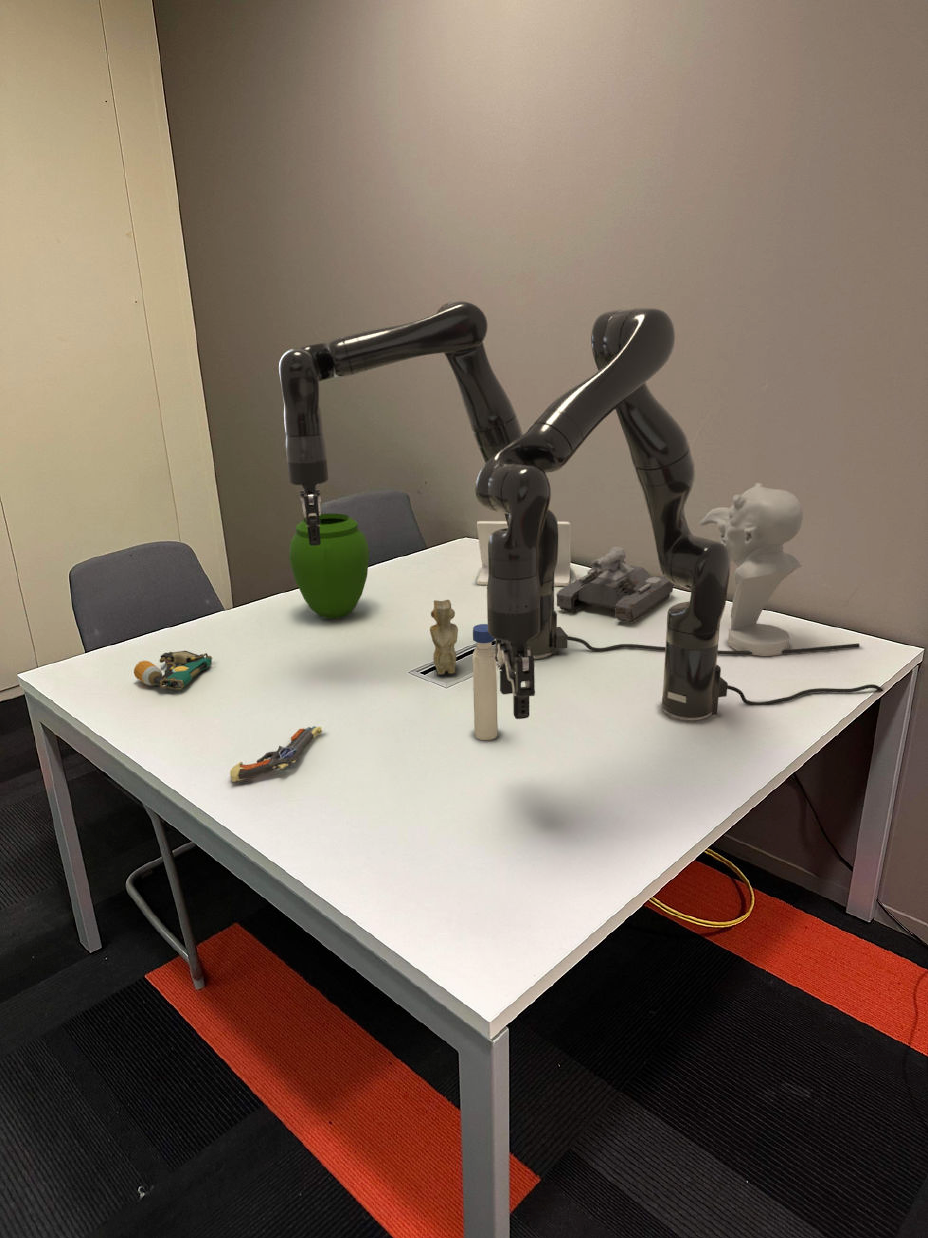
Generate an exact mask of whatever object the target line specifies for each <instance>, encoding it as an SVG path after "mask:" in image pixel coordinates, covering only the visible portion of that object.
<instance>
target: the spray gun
mask: <svg viewBox="0 0 928 1238" xmlns="http://www.w3.org/2000/svg"><path fill="white" fill-rule="evenodd" d="M212 660H213V657H212V656H211V655H208V653H207V652H205V653H201V654H197V653H194V652H192V651H191V652H190V651H188V650H180V651H169V652H164V653H162V654H161V655H160V658H159V660H158V662H159V663H161V664H163V663H165V664H166V668H165V670H163V672H164V674H163V673H162V669H160V668H159V666H157V665H156V664H154V663H152V662H151V661H149V660H141V661H139V662H138V663H136V665H135V666H134V668H133V675H134V677H135V678H136V679H137V680H139V681H140V682H142V683H143V684H145V685H147V686H155V685H157V686H158V687H160V688H161V689H171V690H172V689H173V690H182V689H184V687H185V686H186V685H188V684H189V683H190V682H191V681H192V679H193V678H195V677H196V676H197V675H198V674H200V673H201V672H202V671H203V670H206V669H208V668H209V667H210V666H211V665H212V662H213V661H212ZM178 663H179V664H181V665H179V666H176V665H177V664H178Z"/></svg>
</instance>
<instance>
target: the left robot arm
mask: <svg viewBox="0 0 928 1238" xmlns="http://www.w3.org/2000/svg"><path fill="white" fill-rule="evenodd" d="M487 332H488V320H487V316H486V315H485V313H484V311H483V310H482V308H480V307H479V306H477V305H476V304H474V303H472V302H470V301H466V300H453V301H449V302H446V303H444V304H443V305H442V306H441V307H439V309H438V310H437V312H436V313H434V314H432V315H429V316H426V317H424V318H421V319H419V320H414V321H412V322H408V323H407V322H406V323H404V324H399V325H393V326H387V327H381V328H380V327H379V328H375V329H369V330H365V331H361V332H360V331H359V332H355V333H352V334H349V335H348V334H347V335H344V336H340V337H338V338H334V339H332V340H329V341H325V342H320V343H315V344H309V345H304V346H299V347H295V348H291V349H289V350H287V351H286V352H284V353H283V355H282V356H281V357H280V360H279V365H278V371H279V378H280V384H281V393H282V399H283V400H282V401H283V405H284V408H283V417H284V418H283V420H284V429H285V431H284V432H285V452H286V462H287V472H288V482H289V483H290V484H291V485H293V486H301V487H302V490H299V497H300V504H301V505H302V514H303V517H304V518H306V520H307V521H306V525H307V527H308V535H309V544H310V545H311V546H313V545H320V544H321V539H320V528H319V526H320V523H321V522H320V519H319V516H320V515H321V514H322V507H321V506H322V505H321V502H322V495H321V489H317V487H316V486H317V485H322V484H324V483H327V482H328V480H329V470H328V457H327V448H326V441H325V436H324V426H323V416H322V415H323V414H322V411H321V406H320V382H322V381H326V380H329V379H333V378H345V377H350V376H355V375H358V374H361V373H366V372H369V371H372V370H376V369H380V368H383V367H387V366H390V365H393V364H396V363H400V362H403V361H407V360H411V359H415V358H420V357H424V356H430V355H436V354H444V356H445V358H446V360H447V362H448V365H449V367H450V368H451V370H452V372H453V376H454V377H455V380H456V383H457V385H458V388H459V393H460V396H461V399H462V403H463V406H464V409H465V412H466V415H467V418H468V422H469V425H470V428H471V431H472V433H473V436H474V439H475V441H476V444H477V447H478V449H479V451H480V453H481V456H482V458H483V460H484V464H486V462H487V461H488V460H489V459H490V458H491V457H493V456H494V455H495V454H496V453H498V452H499V451H500V450H502V449H503V448H505V447H506V446H507V445H509V444H510V443H512V442H513V441H514V440H516V439H518V438H519V437H521V436H522V435H524V434H523V430H522V428H521V425H520V422H519V419H518V417H517V414H516V411H515V409H514V406H513V404H512V402H511V400H510V398H509V396H508V393H506V391H505V389H504V387H503V385H502V384H501V382H500V381H499V379H498V377H497V376H496V374H495V372H494V370H493V369H492V365H491V363H490V361H489V357H488V355H487V351H486V348H485V345H484V340H485V338H486V337H487ZM504 517H505V521H506V522H507V526H509V523H510V518H511V516H510V514H506V513H504ZM558 522H559V521H558V518H557V517H556V515H555V513H554V512H553V511H552V510H551V509H549V508H548V511H547V515H546V518H545V522H544V526H543V530H542V533H541V537H540V540H539V544H538V577H539V584H540V631H539V634H538V635H537V636H536V637H534V638H531V639H530V640H528V641H527V643H526V644H527V647H529V648H530V654H531V655H533V657H534V659H535V660H540V659H545V658H548V657H550V656H552V655H557V654H558V653H557V650H562V649H564V650H565V649H568V645H569V643H568V641H571V642H576V643H580V644H582V645H584V646H585V648H587V649H588V650H590V651H592V652H598V653H599V652H607V651H612V650H615V649H616V650H617V649H627V648H628V649H641V650H642V649H643V650H650V651H664V652H665V648H666V646H659V645H658V646H656V645H649V644H648V645H645V644H637V643H636V644H635V643H619V644H614V645H610V646H605V647H595V646H592V645H590V643H589V642H588V641H586V640H584V639H582V638H579V637H574V636H568V634H567V633H566V631H565V630H564V629H563V628H562V627H561V626H558V613H557V612H556V611H555V586H554V571H555V568H556V565H557V558H558ZM853 648H855V649H856V648H860V643H847V644H837V645H828V646H827V645H826V646H825V645H824V646H816V647H805V648H791V649H790V648H789V649H788V650H783V651H782V652H781V653H782V654H781V655H784V654H799V653H810V652H821V651H832V650H842V649H843V650H845V649H853ZM752 654H753V653H752V652H750V651H737V650H719V649H718V654H717V655H725V656H726V655H728V656H729V655H730V656H731V655H732V656H733V655H734V656H749V655H750V656H753V655H752Z"/></svg>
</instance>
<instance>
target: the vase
mask: <svg viewBox="0 0 928 1238" xmlns="http://www.w3.org/2000/svg"><path fill="white" fill-rule="evenodd" d="M319 519H320V522H321V523H320V526H319V528H320V539H321V544H320V545H313V546H311V545H310V544H309V535H308V527H307V525H306V521H307V520H306V517H304V518H303V519H302V520H301V521H300V522H299V523H298V524H297V525H296V526H295V532H296V533H295V534H294V536H293V537H292V538H291V540H290V542H289V551H288V559H289V564H290V566H291V567H290V568H291V570H292V575H293V578H294V581H295V584H296V586H297V587H298V589H299V591H300V593H301V596H302V597H303V600H304V601H305V603H306V604H307V605H308V607H309V608H310V609H311V611H312V612H314V613H315V614H316V615H317V616H318V617H320V618H324V619H326V620H327V619H329V620H336V619H341V618H345V617H347V616H349V615H350V614H351V613H352V612H353V611H354V610H355V608H356V607H357V605H358V604H359V601H360V599H361V597H362V595H363V592H364V588H365V586H366V581H367V578H368V570H369V561H370V560H369V559H370V548H369V545H368V541H367V537H366V535H365V534H364V533H363V532H362V531H361V530H360V529H359V527H358V524H359V523H358V521H356V520H355V519H353V518H352V517H350V516H349V515H347V514H344V513H335V512H334V513H333V512H331V513H321V515H320V516H319Z"/></svg>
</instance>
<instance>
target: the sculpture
mask: <svg viewBox="0 0 928 1238" xmlns="http://www.w3.org/2000/svg"><path fill="white" fill-rule="evenodd" d="M455 615H456V611H455V609H453V608H452V602H451V601H450V599H445V600H433V610H431V612H430V617H431V618H432V619H433V620H434V621H435V622H436V623H435V624H433V625H431V626H429V633H430V636H431V640H432V641H431V642H432V643H433V645H434V648H435V649H434V652H433V656H432V657H433V659H432V660H433V665H434V667H435V668H436V671H437V674H438V675H445V674H446V672H447V673H448V674H455V673H456V666H457V665H456V663H457V652H456V649H455V644H456V643H457V642H458V637H459V635H458V634H459V627H458V626H457V624H455V623H453V622H451V621H452V620H453V619H454V618H455Z"/></svg>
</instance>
